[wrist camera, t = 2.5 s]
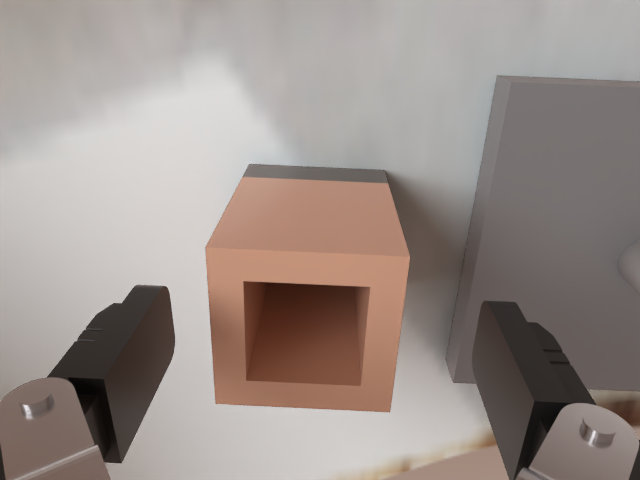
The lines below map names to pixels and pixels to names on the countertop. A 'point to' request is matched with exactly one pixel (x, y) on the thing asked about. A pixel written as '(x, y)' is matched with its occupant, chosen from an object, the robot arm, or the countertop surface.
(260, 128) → the countertop surface
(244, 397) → the sleeve
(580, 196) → the pin board
